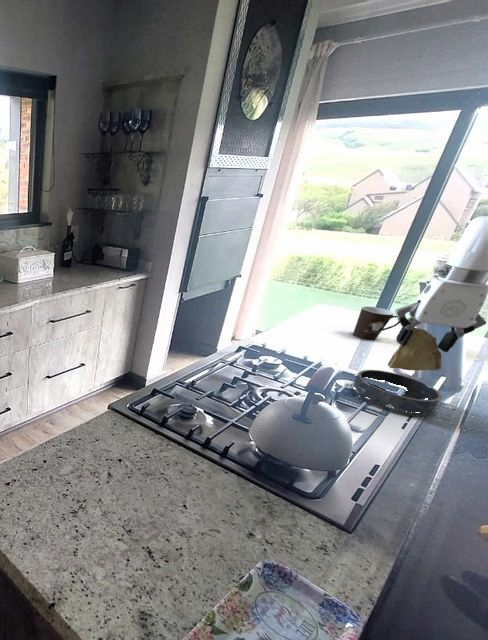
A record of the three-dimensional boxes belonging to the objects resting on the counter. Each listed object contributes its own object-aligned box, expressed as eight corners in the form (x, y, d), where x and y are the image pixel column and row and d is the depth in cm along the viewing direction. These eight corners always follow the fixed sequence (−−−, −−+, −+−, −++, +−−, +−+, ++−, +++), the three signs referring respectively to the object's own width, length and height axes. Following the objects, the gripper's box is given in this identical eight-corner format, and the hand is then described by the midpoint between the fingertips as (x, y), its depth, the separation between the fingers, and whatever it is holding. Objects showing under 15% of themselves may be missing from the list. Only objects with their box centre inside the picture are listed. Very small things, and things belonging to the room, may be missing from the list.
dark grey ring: (413, 391, 111) (422, 377, 108) (445, 422, 97) (456, 407, 95) (342, 379, 116) (349, 365, 114) (363, 407, 103) (372, 392, 100)
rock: (444, 357, 102) (394, 342, 107) (467, 339, 95) (413, 323, 100) (428, 390, 100) (378, 373, 105) (450, 374, 93) (396, 357, 98)
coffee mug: (348, 336, 145) (361, 310, 140) (349, 330, 150) (362, 304, 146) (390, 346, 138) (406, 319, 133) (390, 339, 144) (405, 312, 139)
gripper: (423, 274, 90) (383, 345, 99) (528, 284, 85) (476, 359, 93) (407, 267, 97) (371, 335, 105) (504, 276, 91) (458, 347, 99)
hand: (421, 346), depth 99 cm, fingers closed on rock, 7 cm apart
